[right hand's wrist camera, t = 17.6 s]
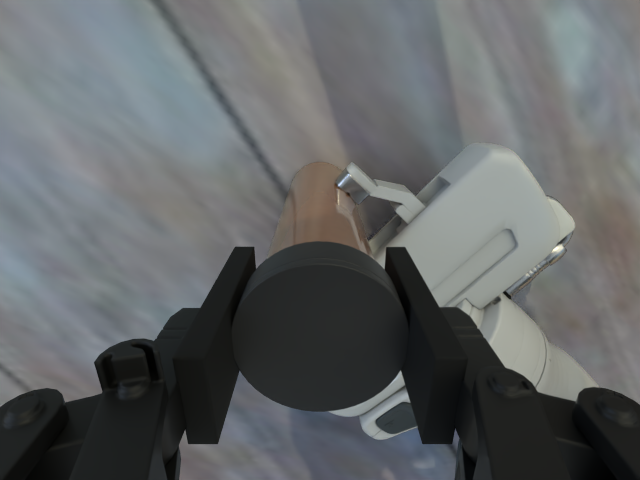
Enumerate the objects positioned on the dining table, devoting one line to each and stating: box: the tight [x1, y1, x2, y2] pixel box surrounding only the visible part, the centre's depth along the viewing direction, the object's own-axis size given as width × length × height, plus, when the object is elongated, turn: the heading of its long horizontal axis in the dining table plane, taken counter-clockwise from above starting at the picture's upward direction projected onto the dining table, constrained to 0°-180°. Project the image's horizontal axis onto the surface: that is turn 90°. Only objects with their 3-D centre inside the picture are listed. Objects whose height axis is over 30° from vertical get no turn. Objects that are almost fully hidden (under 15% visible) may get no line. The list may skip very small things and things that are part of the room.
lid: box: [231, 241, 409, 412], centre depth 11 cm, size 5×5×2 cm
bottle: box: [266, 162, 374, 259], centre depth 20 cm, size 5×5×18 cm
